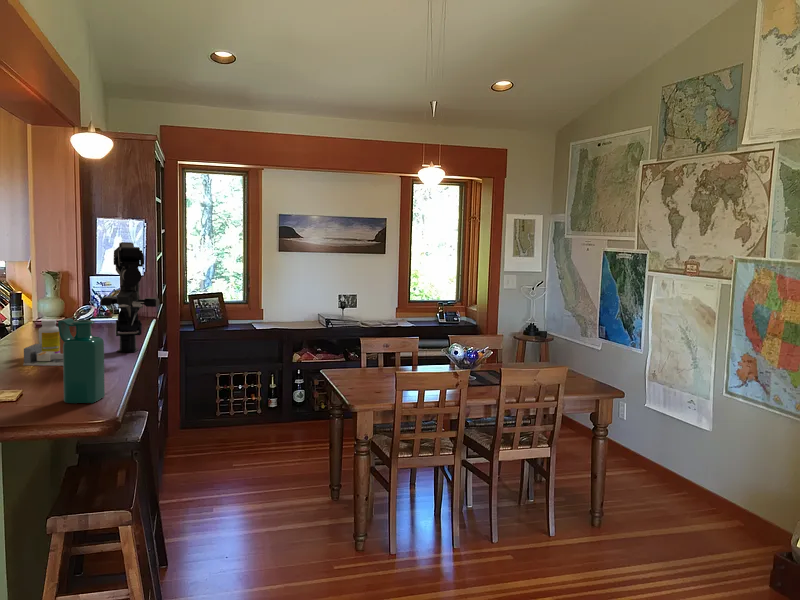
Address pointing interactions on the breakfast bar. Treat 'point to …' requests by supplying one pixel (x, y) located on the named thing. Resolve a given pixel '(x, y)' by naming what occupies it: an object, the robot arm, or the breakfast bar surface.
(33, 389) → the breakfast bar surface
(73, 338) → the pitcher
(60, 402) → the breakfast bar surface
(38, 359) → the thick grey end plate
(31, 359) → the track
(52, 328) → the supplement bottle
